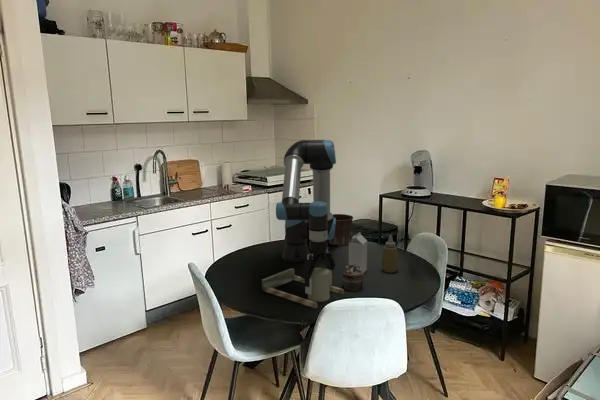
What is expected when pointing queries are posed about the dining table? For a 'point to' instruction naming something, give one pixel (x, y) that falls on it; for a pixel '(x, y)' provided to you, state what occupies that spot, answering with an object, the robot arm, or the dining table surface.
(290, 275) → the guide track
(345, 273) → the cupcake
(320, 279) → the can
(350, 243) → the milk carton
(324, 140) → the robot arm
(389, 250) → the squeeze bottle
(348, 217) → the plant pot
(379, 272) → the dining table surface
